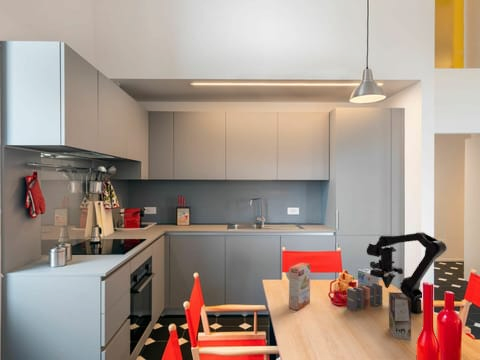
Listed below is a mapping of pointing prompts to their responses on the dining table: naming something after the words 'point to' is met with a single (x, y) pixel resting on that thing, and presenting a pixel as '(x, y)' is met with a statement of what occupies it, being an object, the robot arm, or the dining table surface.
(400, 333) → the coffee box
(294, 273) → the cracker box
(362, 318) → the dining table surface
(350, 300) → the domino
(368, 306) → the domino
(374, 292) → the domino
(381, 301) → the domino
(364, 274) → the light bulb box
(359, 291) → the domino
